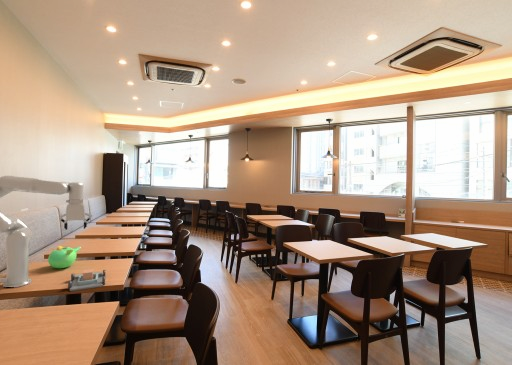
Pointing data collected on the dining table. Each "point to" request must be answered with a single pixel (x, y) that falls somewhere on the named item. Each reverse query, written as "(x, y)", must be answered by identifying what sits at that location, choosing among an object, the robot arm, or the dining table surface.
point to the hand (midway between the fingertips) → (75, 229)
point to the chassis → (80, 284)
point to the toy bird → (62, 257)
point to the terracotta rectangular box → (87, 274)
